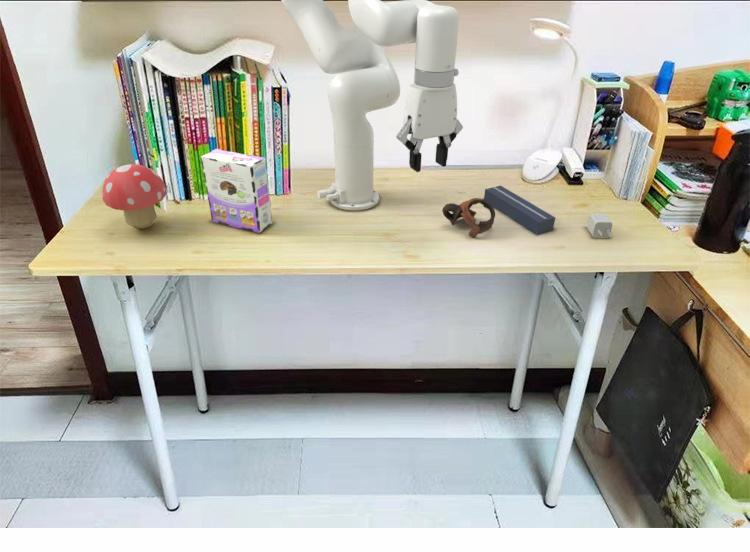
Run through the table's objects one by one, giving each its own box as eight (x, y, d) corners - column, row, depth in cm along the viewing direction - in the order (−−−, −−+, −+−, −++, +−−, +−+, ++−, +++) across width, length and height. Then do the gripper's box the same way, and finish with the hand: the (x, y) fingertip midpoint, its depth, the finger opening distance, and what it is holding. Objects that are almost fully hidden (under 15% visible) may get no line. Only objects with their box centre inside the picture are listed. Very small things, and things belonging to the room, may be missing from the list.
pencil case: (536, 234, 128) (539, 221, 126) (483, 200, 143) (485, 188, 141) (553, 229, 130) (555, 217, 128) (499, 196, 145) (500, 184, 143)
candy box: (273, 223, 131) (267, 157, 122) (259, 234, 127) (251, 166, 118) (226, 211, 136) (216, 146, 127) (210, 221, 132) (199, 155, 123)
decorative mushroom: (119, 216, 134) (103, 156, 125) (177, 212, 135) (164, 153, 127) (106, 244, 123) (87, 180, 114) (169, 239, 124) (155, 177, 116)
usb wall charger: (603, 228, 131) (607, 213, 129) (613, 243, 125) (617, 227, 123) (586, 228, 131) (589, 213, 129) (595, 243, 125) (599, 227, 123)
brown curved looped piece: (483, 218, 136) (498, 198, 129) (483, 250, 131) (499, 231, 124) (437, 206, 134) (449, 186, 127) (435, 239, 129) (448, 219, 122)
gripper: (459, 68, 112) (451, 154, 122) (385, 78, 106) (383, 167, 116) (482, 77, 107) (472, 166, 117) (405, 87, 100) (401, 181, 110)
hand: (428, 166), depth 116 cm, fingers open, 5 cm apart
